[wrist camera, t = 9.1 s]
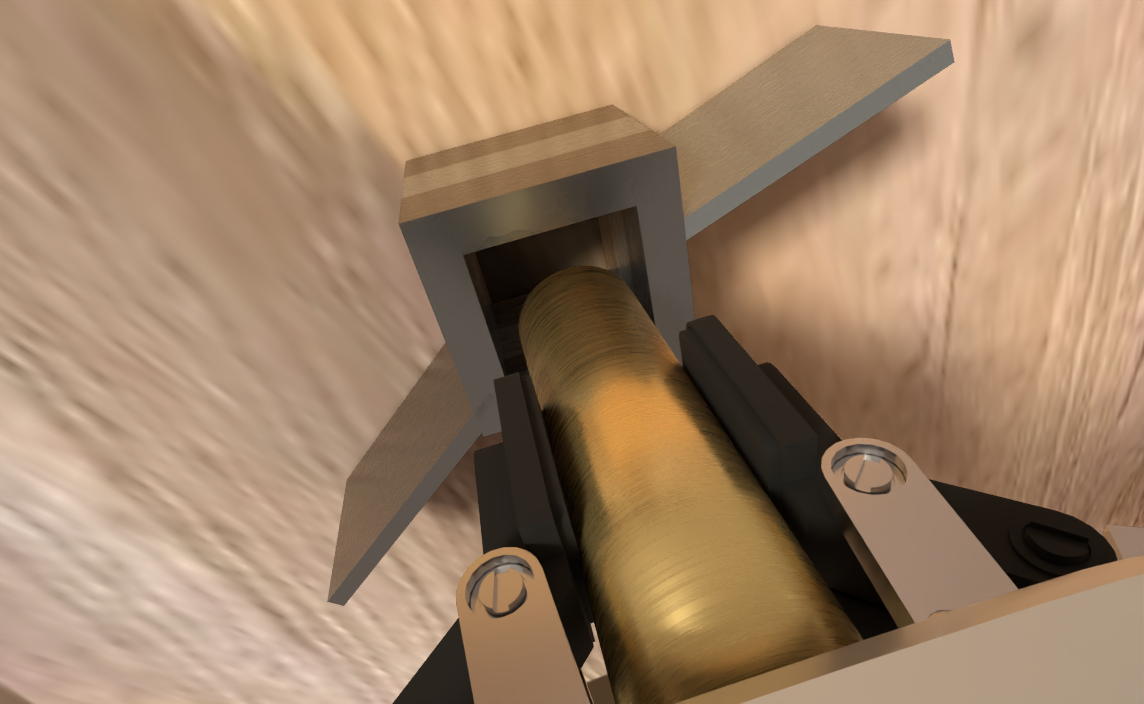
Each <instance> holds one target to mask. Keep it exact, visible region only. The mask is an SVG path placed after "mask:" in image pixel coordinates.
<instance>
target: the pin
mask: <svg viewBox="0 0 1144 704" xmlns="http://www.w3.org/2000/svg"><path fill="white" fill-rule="evenodd" d="M518 327H519V335H520V340H521V344H522V347H523V351H524V355H525V359H526V363H527V367H528V370H529V374H530V376H531V379H532V382H533V385H534V388H535V391H536V394H537V398H538V401H539V404H540V407H541V410H542V414H543V418H544V422H545V425H546V429H547V433H548V437H549V440H550V444H551V448H552V452H553V455H554V459H555V463H556V467H557V470H558V474H559V478H560V482H561V485H562V489H563V493H564V496H565V500H566V504H567V508H568V511H569V515H570V519H571V523H572V526H573V530H574V534H575V538H576V541H577V545H578V549H579V553H580V556H581V573H582V577H583V581H584V585H585V589H586V593H587V597H588V601H589V604H590V608H591V612H592V616H593V620H594V624H595V627H596V631H597V635H598V639H599V643H600V647H601V650H602V654H603V658H604V662H605V666H606V670H607V673H608V677H609V681H610V684H611V688H612V693H613V696H614V700H615V704H675V703H678V702H681V701H684V700H687V699H690V698H693V697H695V696H698V695H701V694H704V693H707V692H710V691H713V690H716V689H719V688H722V687H725V686H728V685H731V684H734V683H737V682H740V681H743V680H746V679H749V678H752V677H755V676H758V675H761V674H764V673H767V672H770V671H773V670H776V669H779V668H782V667H785V666H788V665H791V664H794V663H797V662H800V661H803V660H806V659H809V658H812V657H815V656H818V655H821V654H824V653H827V652H830V651H833V650H836V649H839V648H842V647H845V646H848V645H851V644H854V643H856V642H859V641H862V640H863V638H862V637H861V635H860V634H859V632H858V631H857V629H856V628H855V626H854V625H853V623H852V622H851V620H850V619H849V617H848V616H847V614H846V613H845V611H844V610H843V608H842V607H841V605H840V604H839V602H838V601H837V599H836V598H835V596H834V595H833V593H832V592H831V590H830V589H829V587H828V586H827V584H826V583H825V581H824V580H823V578H822V577H821V575H820V573H819V572H818V570H817V569H816V567H815V566H814V564H813V563H812V561H811V560H810V558H809V557H808V555H807V554H806V552H805V551H804V549H803V548H802V546H801V545H800V543H799V542H798V540H797V539H796V537H795V536H794V534H793V533H792V531H791V530H790V528H789V527H788V525H787V524H786V522H785V521H784V519H783V518H782V516H781V515H780V513H779V512H778V510H777V509H776V507H775V506H774V504H773V503H772V501H771V500H770V498H769V497H768V495H767V494H766V492H765V491H764V489H763V488H762V486H761V485H760V483H759V482H758V480H757V479H756V477H755V476H754V474H753V473H752V471H751V470H750V468H749V467H748V465H747V464H746V462H745V460H744V459H743V457H742V456H741V454H740V453H739V451H738V450H737V448H736V447H735V445H734V444H733V442H732V441H731V439H730V438H729V436H728V435H727V433H726V432H725V430H724V429H723V427H722V426H721V424H720V423H719V421H718V420H717V418H716V417H715V415H714V414H713V412H712V411H711V409H710V408H709V406H708V405H707V403H706V402H705V400H704V399H703V397H702V396H701V394H700V393H699V391H698V390H697V388H696V387H695V385H694V384H693V382H692V381H691V379H690V378H689V376H688V375H687V373H686V372H685V370H684V369H683V367H682V366H681V364H680V363H679V361H678V360H677V358H676V357H675V355H674V354H673V352H672V351H671V349H670V348H669V346H668V344H667V343H666V341H665V340H664V338H663V337H662V335H661V334H660V332H659V331H658V329H657V328H656V326H655V325H654V323H653V322H652V320H651V319H650V317H649V316H648V314H647V313H646V311H645V310H644V308H643V307H642V305H641V304H640V302H639V301H638V299H637V298H636V296H635V295H634V293H633V292H632V290H631V289H630V287H629V286H628V285H627V284H626V282H625V281H624V280H622V279H621V278H620V277H619V276H617V275H616V274H614V273H612V272H610V271H608V270H606V269H602V268H599V267H592V266H578V267H572V268H567V269H564V270H561V271H558V272H556V273H554V274H552V275H550V276H549V277H547V278H546V279H544V280H543V281H542V282H540V283H539V284H538V285H537V286H536V287H535V288H534V289H533V290H532V291H531V293H530V294H529V296H528V297H527V299H526V300H525V302H524V304H523V307H522V309H521V312H520V317H519V325H518Z"/></svg>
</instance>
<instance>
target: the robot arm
mask: <svg viewBox="0 0 1144 704" xmlns="http://www.w3.org/2000/svg"><path fill="white" fill-rule="evenodd" d="M679 341H680V349H681V357H682V364H683V369H684V370H685V372H686V373H687V375H688V376H689V378H690V379H691V381H692V382H693V384H694V385H695V387H696V388H697V390H698V391H699V393H700V394H701V396H702V397H703V399H704V400H705V402H706V403H707V405H708V406H709V408H710V409H711V411H712V412H713V414H714V415H715V417H716V418H717V420H718V421H719V423H720V424H721V426H722V427H723V429H724V430H725V432H726V433H727V435H728V436H729V438H730V439H731V441H732V442H733V444H734V445H735V447H736V448H737V450H738V451H739V453H740V454H741V456H742V457H743V459H744V460H745V462H746V464H747V465H748V467H749V468H750V470H751V471H752V473H753V474H754V476H755V477H756V479H757V480H758V482H759V483H760V485H761V486H762V488H763V489H764V491H765V492H766V494H767V495H768V497H769V498H770V500H771V501H772V503H773V504H774V506H775V507H776V509H777V510H778V512H779V513H780V515H781V516H782V518H783V519H784V521H785V522H786V524H787V525H788V527H789V528H790V530H791V531H792V533H793V534H794V536H795V537H796V539H797V540H798V542H799V543H800V545H801V546H802V548H803V549H804V551H805V552H806V554H807V555H808V557H809V558H810V560H811V561H812V563H813V564H814V566H815V567H816V569H817V570H818V572H819V573H820V575H821V577H822V578H823V580H824V581H825V583H826V584H827V586H828V587H829V589H830V590H831V592H832V593H833V595H834V596H835V598H836V599H837V601H838V602H839V604H840V605H841V607H842V608H843V610H844V611H845V613H846V614H847V616H848V617H849V619H850V620H851V622H852V623H853V625H854V626H855V628H856V629H857V631H858V632H859V634H860V635H861V637H862V638H863V640H862V641H859V642H856V643H854V644H851V645H848V646H845V647H842V648H839V649H836V650H833V651H830V652H827V653H824V654H821V655H818V656H815V657H812V658H809V659H806V660H803V661H800V662H797V663H794V664H791V665H788V666H785V667H782V668H779V669H776V670H773V671H770V672H767V673H764V674H761V675H758V676H755V677H752V678H749V679H746V680H743V681H740V682H737V683H734V684H731V685H728V686H725V687H722V688H719V689H716V690H713V691H710V692H707V693H704V694H701V695H698V696H695V697H693V698H690V699H687V700H684V701H681V702H678V703H675V704H1144V528H1142V527H1130V526H1118V525H1106V527H1105V529H1104V531H1096V530H1095V529H1094V528H1092V527H1091V526H1090V525H1088V524H1086V523H1084V522H1082V521H1080V520H1079V519H1077V518H1075V517H1073V516H1070V515H1067V514H1064V513H1061V512H1058V511H1055V510H1051V509H1047V508H1043V507H1039V506H1035V505H1031V504H1027V503H1022V502H1018V501H1014V500H1010V499H1006V498H1002V497H998V496H994V495H990V494H986V493H982V492H978V491H974V490H970V489H966V488H962V487H958V486H954V485H950V484H946V483H942V482H938V481H933V480H929V479H928V478H927V477H926V475H925V474H924V473H923V472H922V471H921V469H920V468H919V467H918V466H917V464H916V463H915V462H914V461H913V460H912V458H910V457H909V456H908V455H907V454H906V453H905V452H904V451H903V450H901V449H900V448H898V447H896V446H894V445H892V444H890V443H887V442H884V441H881V440H877V439H871V438H851V439H846V440H843V441H842V440H841V439H840V438H839V437H838V436H837V435H836V434H835V433H834V431H833V430H832V429H831V428H830V427H829V426H828V425H827V424H826V423H825V421H824V420H823V419H822V418H821V417H820V416H819V415H818V414H817V413H816V411H815V410H814V409H813V408H812V407H811V406H810V405H809V404H808V403H807V402H806V400H805V399H804V398H803V397H802V396H801V395H800V394H799V393H798V392H797V390H796V389H795V388H794V387H793V386H792V385H791V384H790V383H789V382H788V381H787V379H786V378H785V377H784V376H783V375H782V374H781V373H780V372H779V371H778V369H777V368H776V367H775V366H773V365H772V364H771V363H763V364H760V365H757V364H756V363H755V362H754V361H753V360H752V358H751V357H750V356H749V355H748V354H747V353H746V351H745V350H744V349H743V348H742V347H741V346H740V344H739V343H738V342H737V341H736V340H735V339H734V338H733V336H732V335H731V334H730V333H729V332H728V331H727V329H726V328H725V327H724V326H723V325H722V324H721V322H720V321H719V320H718V319H717V318H716V317H715V316H714V315H710V316H706V317H703V318H699V319H696V320H693V321H689V322H687V323H686V330H683V331H680V332H679ZM493 381H494V388H495V394H496V400H497V406H498V412H499V418H500V424H501V430H502V436H503V443H500V444H497V445H493V446H490V447H487V448H483V449H480V450H477V451H475V452H474V463H475V473H476V483H477V493H478V503H479V514H480V524H481V534H482V544H483V554H484V555H482V556H481V557H479V558H478V559H477V560H475V561H474V562H473V563H472V564H471V565H470V566H469V567H468V568H467V570H466V571H465V573H464V574H463V576H462V577H461V579H460V581H459V584H458V587H457V590H456V605H457V611H458V616H459V618H458V619H457V621H456V622H455V623H454V624H453V626H452V627H451V628H450V630H449V631H448V632H447V634H446V635H445V636H444V637H443V639H442V640H441V641H440V643H439V644H438V645H437V647H436V648H435V649H434V650H433V652H432V653H431V654H430V656H429V657H428V658H427V660H426V661H425V662H424V663H423V665H422V666H421V667H420V669H419V670H418V671H417V673H416V674H415V675H414V676H413V678H412V679H411V680H410V682H409V683H408V684H407V686H406V687H405V688H404V689H403V691H402V692H401V693H400V695H399V696H398V697H397V699H396V700H395V701H394V702H393V704H594V703H593V701H592V698H591V695H590V692H589V689H588V686H587V683H586V680H585V678H584V675H583V672H582V669H581V668H582V666H583V664H584V663H585V661H586V659H587V657H588V656H589V654H590V652H591V651H592V649H593V647H594V645H593V642H595V639H594V635H593V632H592V628H591V624H590V623H593V622H594V620H593V616H592V612H591V608H590V604H589V601H588V597H587V593H586V589H585V585H584V581H583V577H582V573H581V556H580V553H579V549H578V545H577V541H576V538H575V534H574V530H573V526H572V523H571V519H570V515H569V511H568V508H567V504H566V500H565V496H564V493H563V489H562V485H561V482H560V478H559V474H558V470H557V467H556V463H555V459H554V455H553V452H552V448H551V444H550V440H549V437H548V433H547V429H546V425H545V422H544V418H543V414H542V410H541V407H540V404H539V401H538V398H537V394H536V391H535V388H534V385H533V382H532V379H531V376H529V377H525V378H522V379H521V377H520V374H519V372H518V373H514V374H511V375H508V376H504V377H501V378H497V379H494V380H493Z"/></svg>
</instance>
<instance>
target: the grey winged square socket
mask: <svg viewBox="0 0 1144 704" xmlns="http://www.w3.org/2000/svg"><path fill="white" fill-rule="evenodd" d="M952 63H954V58H953V52H952V47H951V42H950V40H949V39H940V38H930V37H921V36H912V35H902V34H893V33H884V32H874V31H865V30H856V29H846V28H837V27H828V26H818V25H816V26H815V27H813V28H812V29H810V30H809V31H808V32H806V33H805V34H803V35H802V36H800V37H799V38H798V39H796V40H795V41H793V42H792V43H790V44H789V45H788V46H786V47H785V48H783V49H782V50H780V51H779V52H778V53H776V54H775V55H773V56H772V57H770V58H769V59H768V60H766V61H765V62H763V63H762V64H760V65H759V66H758V67H756V68H755V69H753V70H752V71H750V72H749V73H747V74H746V75H745V76H743V77H742V78H740V79H739V80H737V81H736V82H735V83H733V84H732V85H730V86H729V87H727V88H726V89H725V90H723V91H722V92H720V93H719V94H717V95H716V96H715V97H713V98H712V99H710V100H709V101H707V102H706V103H705V104H703V105H702V106H700V107H699V108H697V109H696V110H695V111H693V112H692V113H690V114H689V115H687V116H686V117H685V118H683V119H682V120H680V121H679V122H677V123H676V124H675V125H673V126H672V127H670V128H669V129H667V130H666V131H664V132H663V133H662V134H660V135H658V134H657V133H655V132H653V131H652V130H650V129H649V128H647V127H646V126H644V125H643V124H641V123H640V122H638V121H637V120H635V119H633V118H632V117H630V116H629V115H627V114H626V113H624V112H623V111H621V110H620V109H618V108H617V107H615V106H614V105H609V106H606V107H602V108H598V109H595V110H591V111H587V112H584V113H580V114H576V115H573V116H569V117H565V118H562V119H558V120H554V121H551V122H547V123H544V124H540V125H536V126H533V127H529V128H525V129H522V130H518V131H514V132H511V133H507V134H503V135H500V136H496V137H492V138H489V139H485V140H481V141H478V142H474V143H470V144H467V145H463V146H459V147H456V148H452V149H448V150H445V151H441V152H437V153H434V154H430V155H426V156H423V157H419V158H415V159H412V160H408V161H406V164H405V173H404V182H403V190H402V199H401V208H400V217H399V226H400V228H401V231H402V233H403V236H404V238H405V241H406V243H407V246H408V249H409V251H410V254H411V256H412V259H413V261H414V264H415V266H416V269H417V271H418V274H419V276H420V279H421V281H422V284H423V286H424V289H425V291H426V294H427V296H428V299H429V301H430V304H431V306H432V309H433V311H434V314H435V316H436V319H437V321H438V324H439V326H440V329H441V332H442V334H443V337H444V339H445V342H446V343H445V344H444V346H443V347H442V348H441V350H440V351H439V353H438V354H437V355H436V357H435V358H434V360H433V361H432V362H431V364H430V365H429V367H428V368H427V369H426V371H425V372H424V373H423V375H422V376H421V378H420V379H419V380H418V382H417V383H416V385H415V386H414V387H413V389H412V390H411V392H410V393H409V394H408V396H407V397H406V398H405V400H404V401H403V403H402V404H401V405H400V407H399V408H398V410H397V411H396V412H395V414H394V415H393V417H392V418H391V419H390V421H389V422H388V423H387V425H386V426H385V428H384V429H383V430H382V432H381V433H380V435H379V436H378V437H377V439H376V440H375V442H374V443H373V444H372V446H371V447H370V448H369V450H368V451H367V453H366V454H365V455H364V457H363V458H362V460H361V461H360V462H359V464H358V465H357V467H356V468H355V469H354V471H353V472H352V473H351V475H350V476H349V478H348V479H347V482H346V489H345V495H344V501H343V507H342V514H341V520H340V526H339V532H338V539H337V545H336V551H335V557H334V564H333V570H332V576H331V582H330V589H329V595H328V601H327V602H331V603H335V604H339V605H343V606H344V605H345V604H346V603H347V601H348V600H349V599H350V598H351V596H352V595H353V594H354V593H355V591H356V590H357V589H358V588H359V586H360V585H361V584H362V583H363V581H364V580H365V579H366V578H367V576H368V575H369V574H370V573H371V571H372V570H373V569H374V568H375V566H376V565H377V564H378V562H379V561H380V560H381V559H382V557H383V556H384V555H385V554H386V552H387V551H388V550H389V549H390V547H391V546H392V545H393V544H394V542H395V541H396V540H397V539H398V537H399V536H400V535H401V534H402V532H403V531H404V530H405V529H406V527H407V526H408V525H409V524H410V522H411V521H412V520H413V519H414V517H415V516H416V515H417V514H418V512H419V511H420V510H421V509H422V507H423V506H424V505H425V503H426V502H427V501H428V500H429V498H430V497H431V496H432V495H433V493H434V492H435V491H436V490H437V488H438V487H439V486H440V485H441V483H442V482H443V481H444V480H445V478H446V477H447V476H448V475H449V473H450V472H451V471H452V470H453V468H454V467H455V466H456V465H457V463H458V462H459V461H460V460H461V458H462V457H463V456H464V455H465V453H466V452H467V451H468V449H469V448H470V447H471V446H472V444H473V443H474V442H475V441H476V439H477V438H478V437H479V436H480V434H481V433H482V435H483V437H485V436H488V435H492V434H495V433H498V432H502V430H501V424H500V418H499V412H498V406H497V400H496V394H495V388H494V381H493V380H494V379H497V378H501V377H504V376H508V375H511V374H514V373H518V372H519V374H520V377H521V379H522V378H525V377H529V376H530V374H529V370H528V367H527V363H526V359H525V355H524V351H523V347H522V344H521V340H520V335H519V327H518V325H519V317H520V312H521V309H522V307H523V304H524V302H525V300H526V299H527V297H528V296H529V294H530V293H527V294H524V295H520V296H517V297H513V298H510V299H507V300H503V301H500V302H496V303H493V304H492V302H491V299H490V296H489V293H488V290H487V287H486V284H485V280H484V277H483V274H482V271H481V268H480V265H479V262H478V259H477V256H476V253H475V251H479V250H482V249H486V248H489V247H493V246H496V245H500V244H504V243H507V242H511V241H514V240H518V239H521V238H525V237H528V236H532V235H535V234H539V233H542V232H546V231H549V230H553V229H556V228H560V227H563V226H567V225H570V224H574V223H577V222H581V221H584V220H588V219H591V218H595V217H598V222H599V227H600V232H601V237H602V242H603V247H604V252H605V257H606V262H607V268H608V271H610V272H612V273H614V274H616V275H617V276H619V277H620V278H621V279H622V280H624V281H625V282H626V284H627V285H628V286H629V287H630V289H631V290H632V292H633V293H634V295H635V296H636V298H637V299H638V301H639V302H640V304H641V305H642V307H643V308H644V310H645V311H646V313H647V314H648V316H649V317H650V319H651V320H652V322H653V323H654V325H655V326H656V328H657V329H658V331H659V332H660V334H661V335H662V337H663V338H664V340H665V341H666V343H667V344H668V346H669V348H670V349H671V351H672V352H673V354H674V355H675V357H676V358H677V360H678V361H679V363H680V364H681V366H682V367H683V364H682V357H681V349H680V341H679V332H680V331H683V330H686V323H687V322H689V321H693V320H695V315H694V306H693V297H692V287H691V278H690V269H689V260H688V251H687V241H686V240H688V239H689V238H691V237H692V236H694V235H695V234H697V233H698V232H700V231H701V230H703V229H704V228H706V227H707V226H709V225H710V224H712V223H713V222H715V221H716V220H718V219H720V218H721V217H723V216H724V215H726V214H727V213H729V212H730V211H732V210H733V209H735V208H736V207H738V206H739V205H741V204H742V203H744V202H745V201H747V200H748V199H750V198H751V197H753V196H754V195H756V194H757V193H759V192H760V191H762V190H763V189H765V188H766V187H768V186H769V185H771V184H772V183H774V182H775V181H777V180H778V179H780V178H781V177H783V176H784V175H786V174H787V173H789V172H790V171H792V170H793V169H795V168H796V167H798V166H799V165H801V164H802V163H804V162H805V161H807V160H808V159H810V158H811V157H813V156H814V155H816V154H817V153H819V152H820V151H822V150H823V149H825V148H826V147H828V146H829V145H831V144H832V143H834V142H835V141H837V140H838V139H840V138H841V137H843V136H844V135H846V134H847V133H849V132H850V131H852V130H853V129H855V128H856V127H858V126H859V125H861V124H862V123H864V122H865V121H867V120H868V119H870V118H871V117H873V116H874V115H876V114H877V113H879V112H880V111H882V110H883V109H885V108H886V107H888V106H889V105H891V104H892V103H894V102H895V101H897V100H898V99H900V98H901V97H903V96H904V95H906V94H907V93H909V92H910V91H912V90H913V89H915V88H916V87H918V86H919V85H921V84H922V83H924V82H925V81H927V80H928V79H930V78H931V77H933V76H934V75H936V74H937V73H939V72H940V71H942V70H943V69H945V68H946V67H948V66H949V65H951V64H952Z"/></svg>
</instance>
